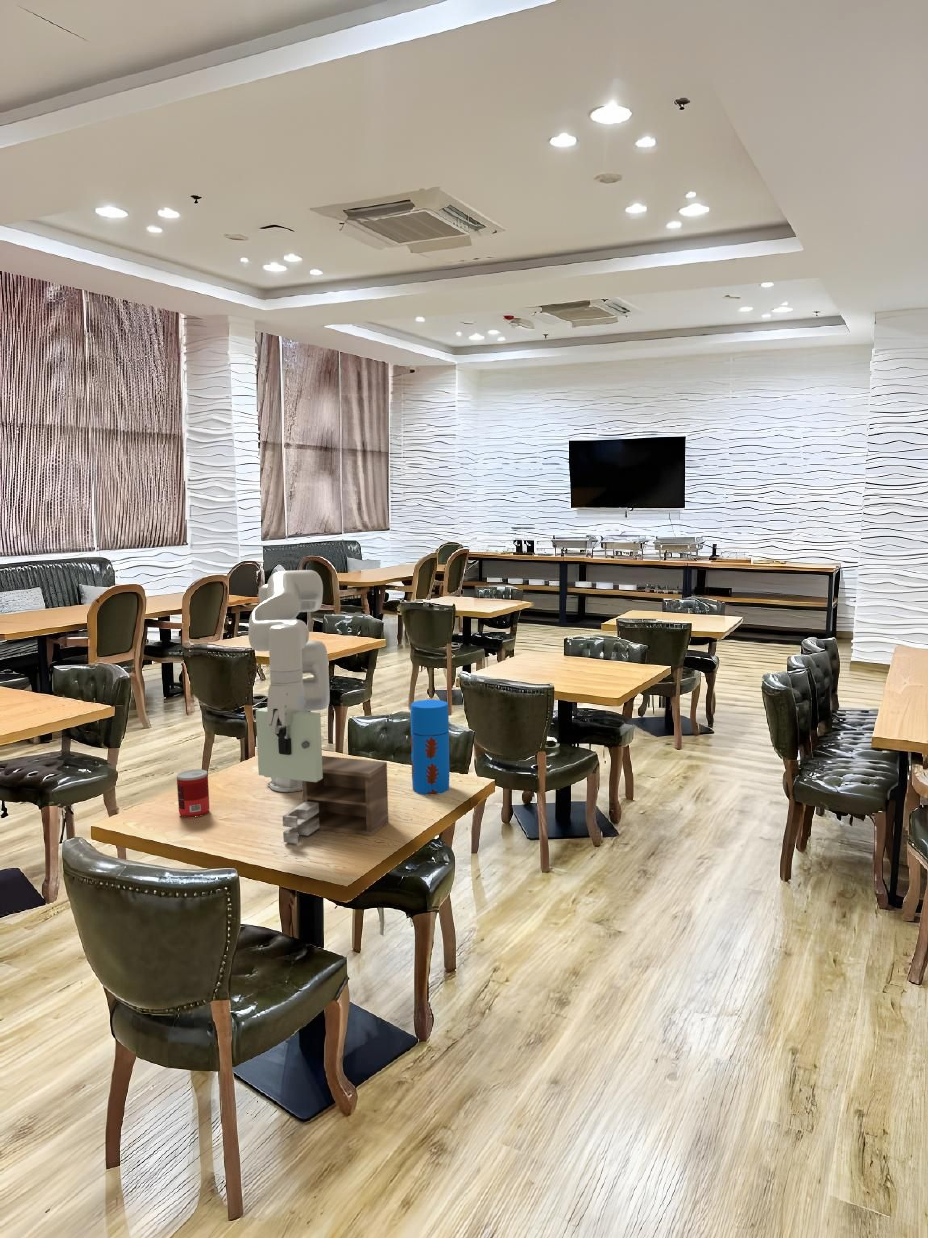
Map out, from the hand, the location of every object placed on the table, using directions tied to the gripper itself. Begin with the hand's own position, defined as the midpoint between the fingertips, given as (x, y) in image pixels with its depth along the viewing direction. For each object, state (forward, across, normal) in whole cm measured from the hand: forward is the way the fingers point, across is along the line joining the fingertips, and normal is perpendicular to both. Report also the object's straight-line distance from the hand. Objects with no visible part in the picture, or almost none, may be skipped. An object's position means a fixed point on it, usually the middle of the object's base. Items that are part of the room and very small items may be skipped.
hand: (289, 751), depth 208 cm
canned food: (+24, -9, -37) cm, 45 cm away
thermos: (+23, -49, +15) cm, 56 cm away
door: (+6, 0, 0) cm, 6 cm away
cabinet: (+23, -10, +6) cm, 26 cm away
